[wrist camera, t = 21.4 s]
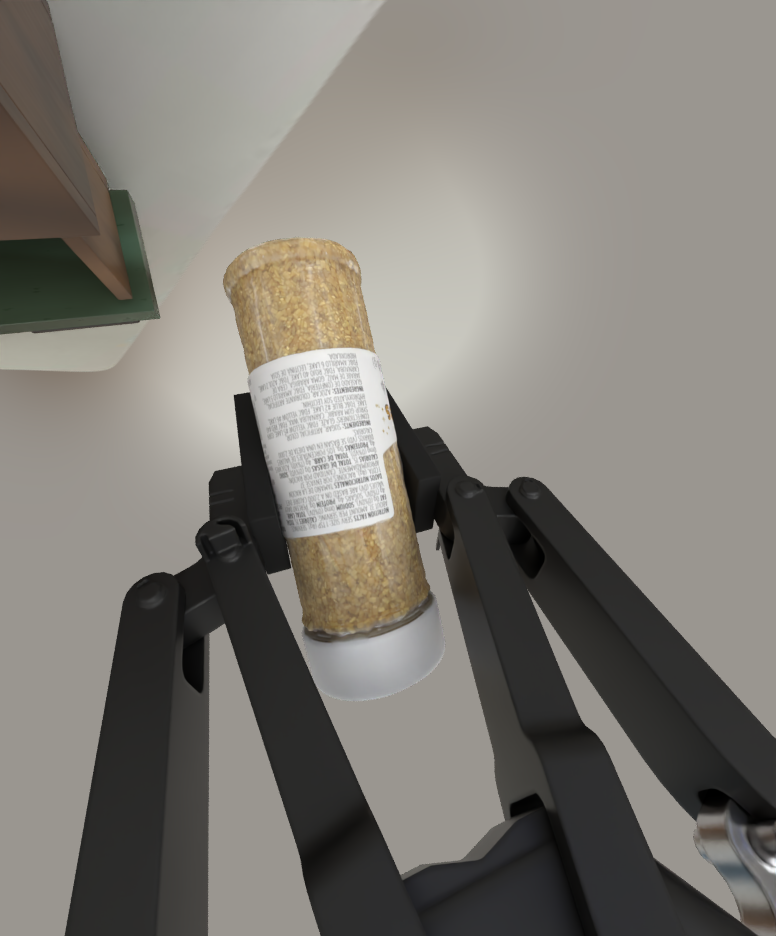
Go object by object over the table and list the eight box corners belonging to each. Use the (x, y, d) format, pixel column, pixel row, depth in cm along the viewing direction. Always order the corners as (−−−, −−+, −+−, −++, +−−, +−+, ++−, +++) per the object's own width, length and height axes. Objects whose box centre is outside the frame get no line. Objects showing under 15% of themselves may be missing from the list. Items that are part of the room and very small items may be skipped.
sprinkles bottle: (347, 296, 15) (421, 619, 16) (229, 309, 14) (310, 657, 15) (371, 221, 11) (472, 671, 11) (202, 231, 10) (320, 733, 10)
